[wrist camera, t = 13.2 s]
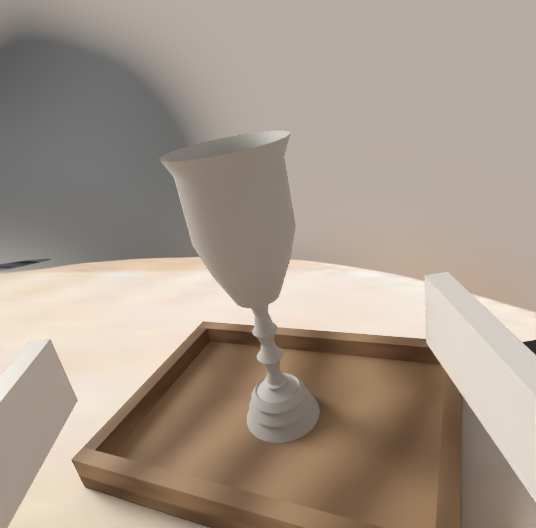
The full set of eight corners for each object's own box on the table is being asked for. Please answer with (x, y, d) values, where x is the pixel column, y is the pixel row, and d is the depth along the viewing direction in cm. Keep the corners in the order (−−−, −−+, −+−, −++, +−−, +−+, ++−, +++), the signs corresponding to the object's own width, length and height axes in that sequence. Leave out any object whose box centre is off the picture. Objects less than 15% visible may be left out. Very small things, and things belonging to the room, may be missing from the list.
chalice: (350, 438, 26) (307, 136, 19) (241, 471, 25) (154, 169, 18) (314, 368, 32) (273, 127, 25) (228, 392, 31) (161, 151, 24)
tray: (84, 486, 27) (71, 459, 26) (208, 343, 40) (203, 321, 39) (459, 607, 18) (460, 572, 17) (462, 369, 31) (462, 341, 30)
